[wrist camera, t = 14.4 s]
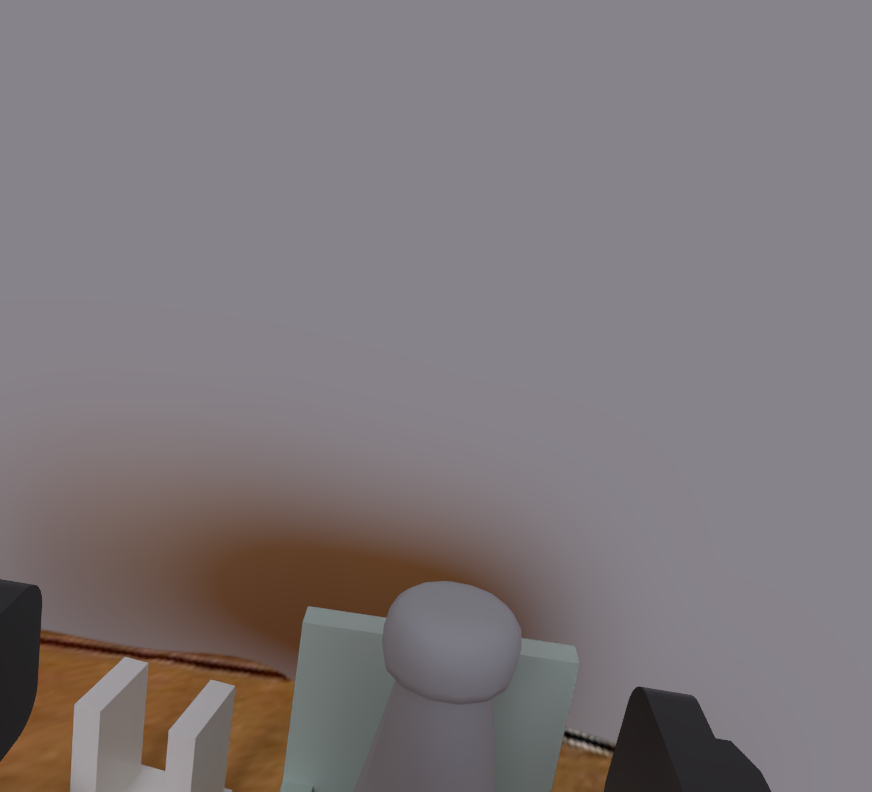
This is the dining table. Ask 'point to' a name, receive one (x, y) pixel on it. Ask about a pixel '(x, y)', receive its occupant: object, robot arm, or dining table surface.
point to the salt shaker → (442, 690)
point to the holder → (369, 691)
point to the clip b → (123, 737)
